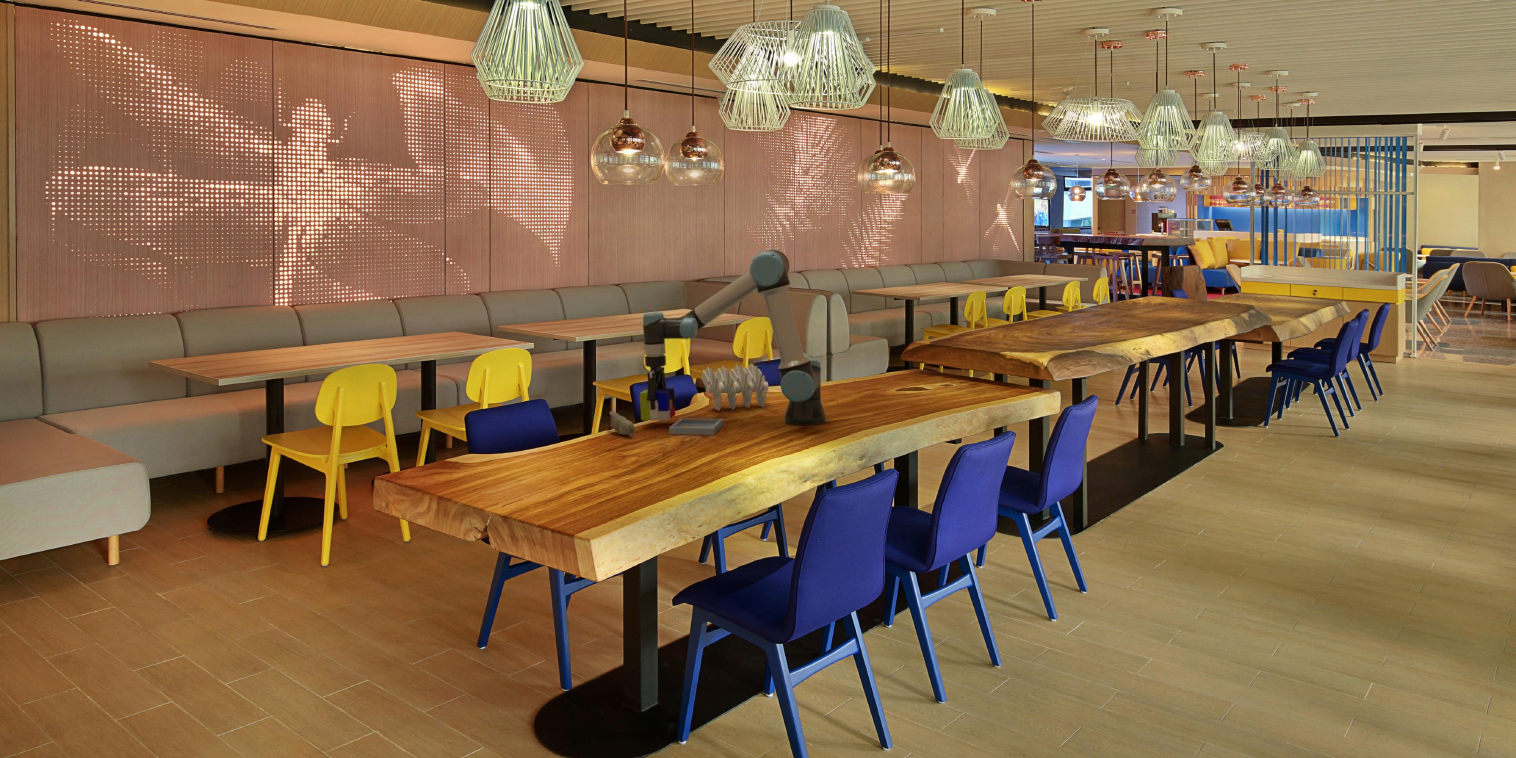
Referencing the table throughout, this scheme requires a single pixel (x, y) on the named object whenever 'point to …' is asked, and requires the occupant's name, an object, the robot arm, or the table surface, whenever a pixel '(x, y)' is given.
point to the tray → (696, 426)
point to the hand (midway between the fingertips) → (658, 415)
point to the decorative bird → (621, 425)
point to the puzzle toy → (659, 404)
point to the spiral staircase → (735, 385)
